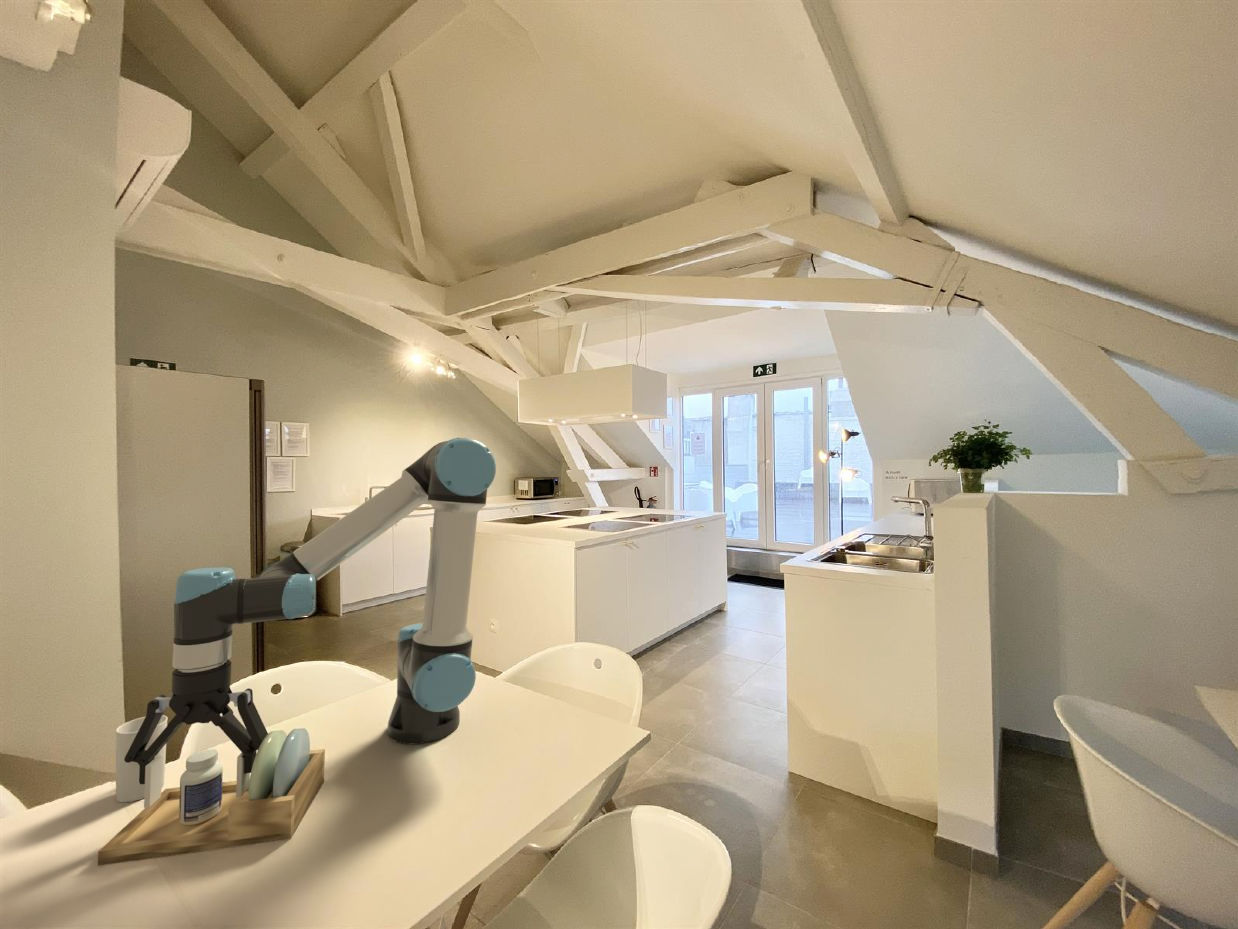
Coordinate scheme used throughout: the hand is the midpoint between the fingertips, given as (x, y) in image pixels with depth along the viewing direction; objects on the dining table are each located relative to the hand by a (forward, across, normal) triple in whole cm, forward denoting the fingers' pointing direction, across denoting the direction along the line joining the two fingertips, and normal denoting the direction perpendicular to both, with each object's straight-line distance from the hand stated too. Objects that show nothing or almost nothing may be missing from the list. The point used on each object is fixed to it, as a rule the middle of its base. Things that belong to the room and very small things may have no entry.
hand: (198, 797), depth 82 cm
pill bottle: (+3, 0, 0) cm, 3 cm away
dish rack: (+4, -4, 0) cm, 6 cm away
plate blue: (+4, -14, 0) cm, 14 cm away
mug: (+4, +15, -13) cm, 20 cm away
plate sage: (+4, -10, 0) cm, 11 cm away
